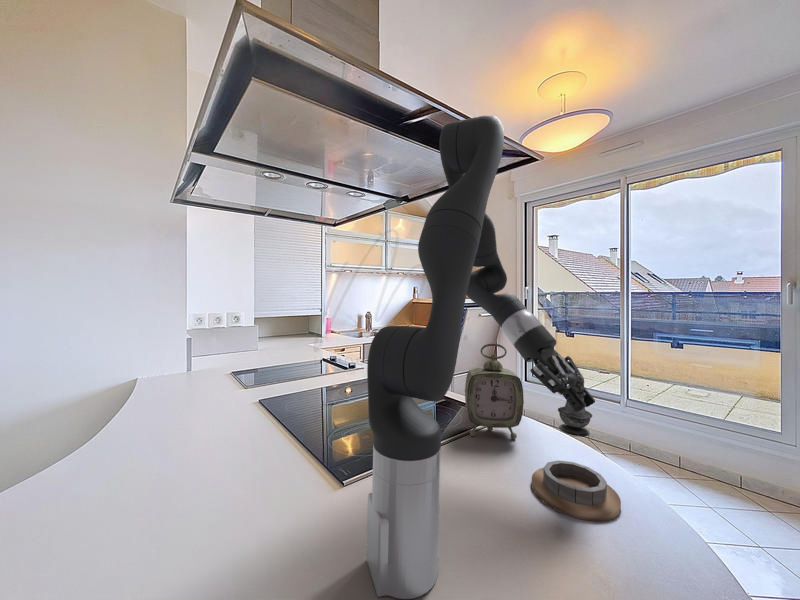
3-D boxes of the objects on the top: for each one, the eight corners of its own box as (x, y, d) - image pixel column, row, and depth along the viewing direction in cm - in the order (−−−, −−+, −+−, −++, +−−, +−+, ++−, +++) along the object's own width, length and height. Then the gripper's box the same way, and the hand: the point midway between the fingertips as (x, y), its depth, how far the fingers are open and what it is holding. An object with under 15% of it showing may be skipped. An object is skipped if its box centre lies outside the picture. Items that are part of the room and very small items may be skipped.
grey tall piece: (558, 433, 60) (560, 370, 60) (555, 422, 65) (557, 364, 65) (594, 439, 58) (596, 373, 58) (588, 427, 63) (590, 367, 63)
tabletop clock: (466, 438, 85) (468, 344, 85) (463, 425, 94) (465, 340, 94) (522, 442, 83) (525, 347, 83) (514, 428, 92) (516, 342, 92)
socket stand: (576, 529, 52) (577, 506, 52) (515, 479, 66) (515, 461, 66) (640, 510, 57) (641, 490, 57) (570, 467, 71) (571, 451, 71)
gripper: (522, 325, 63) (587, 404, 53) (555, 322, 72) (616, 390, 62) (497, 348, 67) (554, 425, 58) (532, 343, 76) (586, 409, 67)
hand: (586, 406), depth 60 cm, fingers closed on grey tall piece, 3 cm apart
